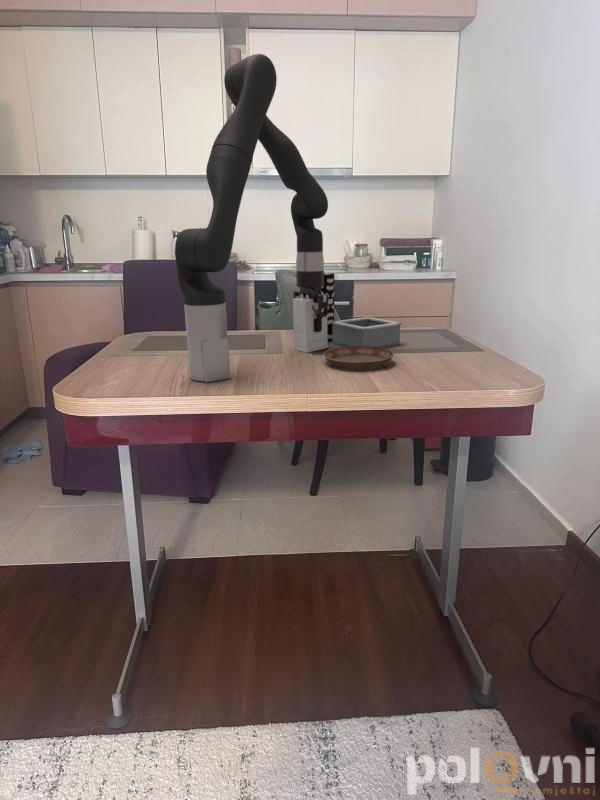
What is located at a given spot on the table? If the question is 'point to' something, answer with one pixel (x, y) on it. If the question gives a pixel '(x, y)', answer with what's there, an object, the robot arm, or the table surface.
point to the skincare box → (307, 327)
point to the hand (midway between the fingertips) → (310, 329)
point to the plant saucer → (358, 357)
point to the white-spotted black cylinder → (329, 301)
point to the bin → (366, 332)
